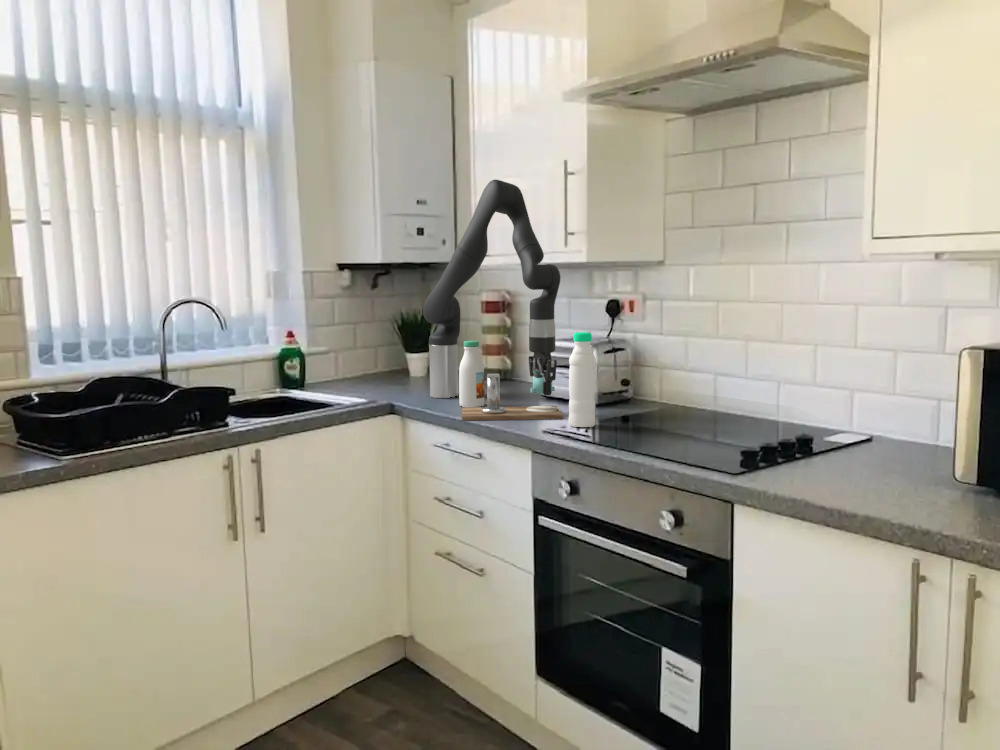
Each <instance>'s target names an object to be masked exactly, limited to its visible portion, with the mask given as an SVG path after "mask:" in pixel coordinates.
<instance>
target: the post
mask: <svg viewBox="0 0 1000 750" xmlns="http://www.w3.org/2000/svg"><path fill="white" fill-rule="evenodd" d="M500 378H501V376H500V373H487V374H486V391H487V392H486V397H487V398H486V402H487V403H486V404H487V405H486V406H482V407H483V408H481V412H482V413H484V414H502V413H505V412H506V408H505V407H506V406H501V387H500V385H501V383H500V382H501V381H500V380H501V379H500Z"/></svg>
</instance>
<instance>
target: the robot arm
mask: <svg viewBox="0 0 1000 750" xmlns="http://www.w3.org/2000/svg"><path fill="white" fill-rule="evenodd" d="M495 213H499V214H503V215H506V216H507V217H508V218H509V220H510V221H511V223H512V225H513V231H512V236H511V237H512V239H511V240H512V245H513V248H514V250H515V252H516V254H517V257H518V258H519V261H520V267H521V273H522V274H521V275H522V280H523V284H524V285H525V286H526V287H527V288H528V289H530V290H532V291H535V290H536V291H538V290H539V291H540V290H542V293H541V295H540V296H538V297H535V298H533V299H531V300H530V302H529V323H528V324H529V325H528V350H529V352H530V353H533V355H529V356H528V369H529V376H530V377H532V378H533V377H535V374H541V375H542V377H543V394H542V395H544V396H551V395H552V393H551V382H552V383H553V381H555V380H556V379H557V378H556V376H557V365H558V364H557V363H558V361H557V360H556V359H553V358H552V353H554V352H555V351H556V324H555V323H556V322H555V305H556V300H557V297H558V292H559V288H560V284H561V273H560V270H559V268H558V267H557V266H556V265H555V264H547V263H546V264H540V263H541V262H542V261H543V260H544V258H545V257H544V255H545V254H544V250H543V248H542V247H541V244H540V242H539V240H538V238H537V236H536V234H535V232H534V230H533V228H532V224H531V220H530V216H529V213H528V210H527V206H526V202H525V199H524V196H523V193H522V191H521V189H520V187H518V186H517V185H515V184H513V183H510V182H507V181H503V180H500V179H492V180H490V181H489V182H488V183H487V185H486V186H485V187H484V189H483V191H482V193H481V195H480V197H479V200H478V202H477V205H476V208H475V209H474V212H473V215H472V218H471V219H470V221H469V224H468V225H467V228H466V230H465V232H464V233H463V235H462V237H461V238H460V241H459V242H458V244H457V246H456V248H455V250H454V252H453V253H452V256H451V258H450V260H449V262H448V264H447V266H446V268H445V270H444V271H443V273H442V275H441V276H440V279H439V280H438V282H436V285H435V286H434V287H433V289H432V291H431V292H430V293H429V295H428V297H427V298H426V300H425V302H424V305H423V308H422V309H423V311H422V313H423V317H424V319H425V320H426V322H428V324H429V323H430V324H434V325H437V327H436V329H435V331H434V332H433V333H432V334H430V336H429V338H428V347H429V348H428V349H429V350H428V351H429V352H428V353H429V355H428V356H429V396H430V398H434V399H435V398H436V399H450V397H452V398H456V397H455V396H457V397H459V367H458V366H459V364H458V363H459V362H458V340H459V336H460V334H461V333H460V332H461V330H460V329H461V307H460V302H459V300H458V299H457V298H456V296H455V294H456V293H457V292H458V291H459V290H460V289H461V288H462V287H463V286H464V285H465V284H466V283H467V282H468V281H470V279H471V278H473V277H474V276H475V275H476V273H477V272H478V271H479V269H480V268H481V266H482V264H483V262H484V260H485V258H486V257H487V253H488V250H489V249H488V247H489V246H488V229H489V224H490V222H491V220H492V218H493V216H494V215H495Z"/></svg>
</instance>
